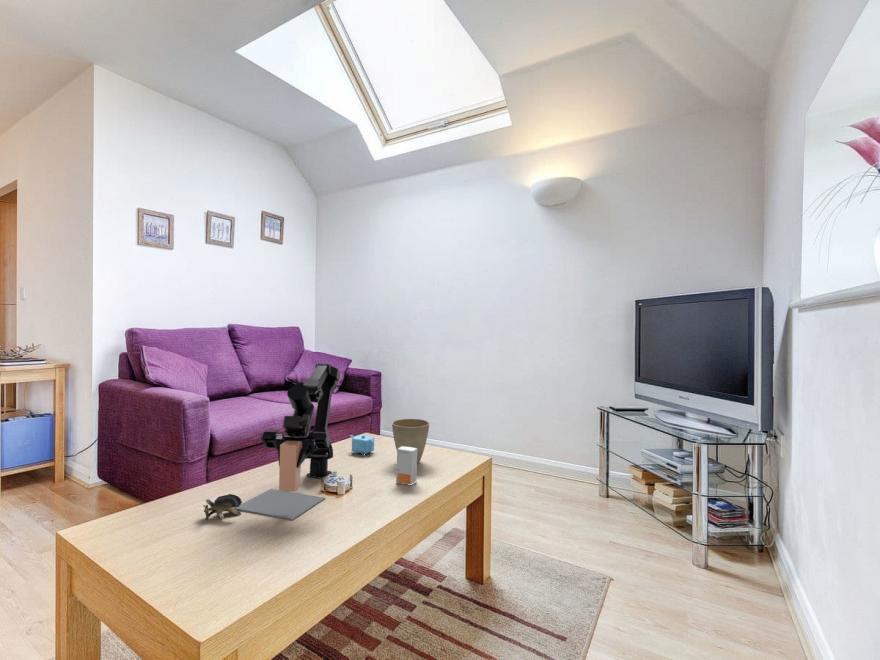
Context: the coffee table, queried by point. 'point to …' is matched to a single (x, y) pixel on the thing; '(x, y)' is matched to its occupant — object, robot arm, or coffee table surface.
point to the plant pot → (411, 434)
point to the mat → (280, 504)
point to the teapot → (362, 444)
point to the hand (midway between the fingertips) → (288, 466)
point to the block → (289, 466)
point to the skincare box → (406, 465)
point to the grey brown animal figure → (223, 505)
